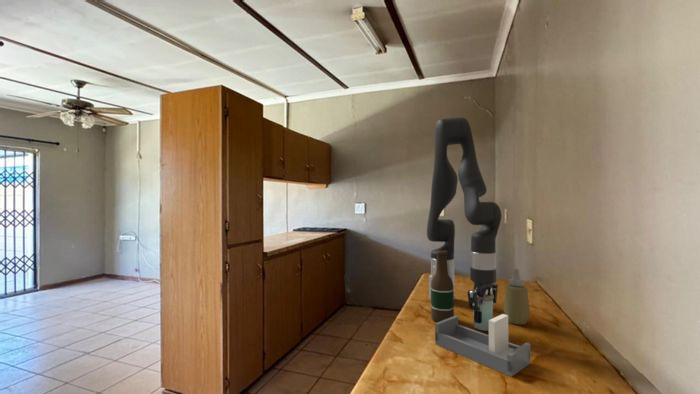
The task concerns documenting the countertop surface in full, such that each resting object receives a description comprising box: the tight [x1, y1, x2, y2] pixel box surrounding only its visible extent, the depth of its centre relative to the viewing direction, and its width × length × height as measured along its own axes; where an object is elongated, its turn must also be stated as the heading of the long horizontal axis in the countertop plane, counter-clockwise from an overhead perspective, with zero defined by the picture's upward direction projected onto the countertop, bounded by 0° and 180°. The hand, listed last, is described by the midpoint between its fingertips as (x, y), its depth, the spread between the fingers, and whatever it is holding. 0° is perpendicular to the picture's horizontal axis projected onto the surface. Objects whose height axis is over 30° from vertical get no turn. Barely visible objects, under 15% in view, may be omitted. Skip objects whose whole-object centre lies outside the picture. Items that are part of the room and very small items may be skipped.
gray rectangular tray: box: [434, 314, 531, 378], centre depth 89 cm, size 22×10×6 cm, turn 38°
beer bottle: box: [430, 250, 455, 323], centre depth 113 cm, size 8×8×24 cm
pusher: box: [488, 313, 515, 358], centre depth 84 cm, size 4×7×10 cm, turn 128°
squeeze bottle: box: [503, 268, 531, 326], centre depth 111 cm, size 8×8×18 cm
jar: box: [472, 295, 494, 331], centre depth 101 cm, size 6×6×10 cm
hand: (483, 319), depth 101 cm, fingers closed on jar, 5 cm apart
